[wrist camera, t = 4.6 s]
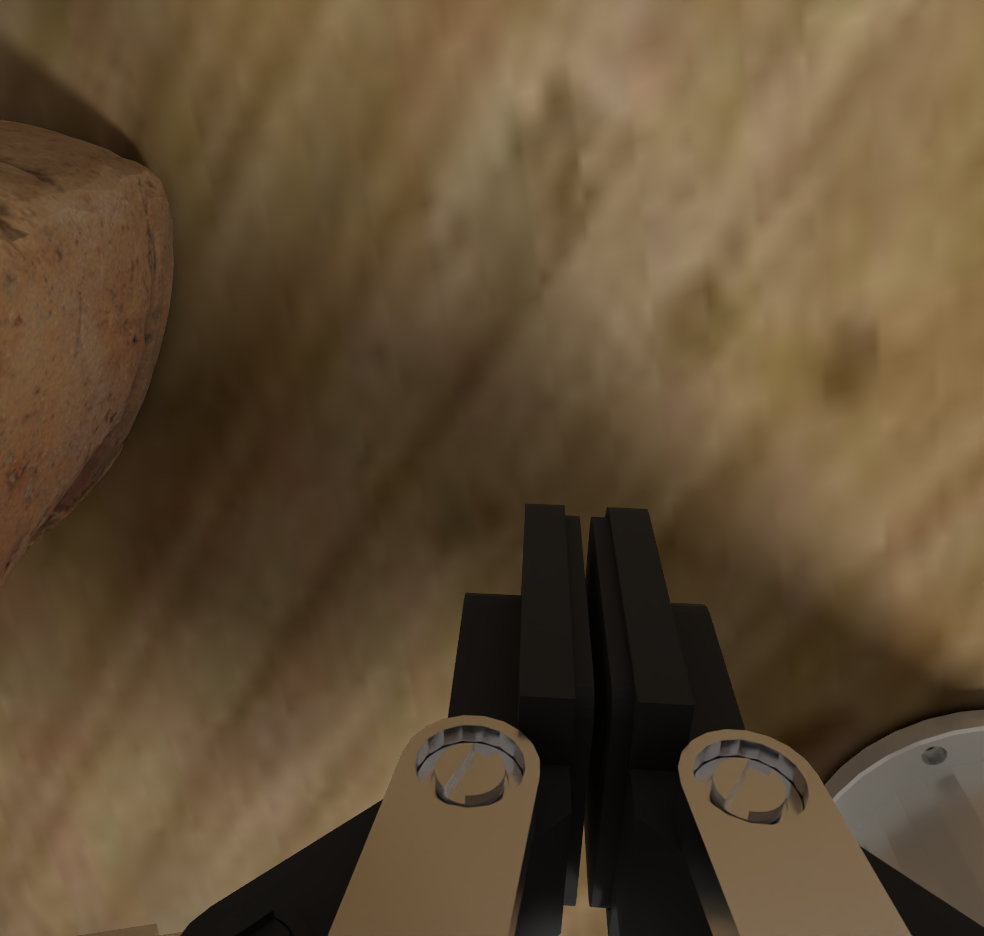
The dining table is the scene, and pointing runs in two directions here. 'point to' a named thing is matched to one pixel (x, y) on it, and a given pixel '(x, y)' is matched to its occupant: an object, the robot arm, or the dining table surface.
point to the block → (72, 320)
